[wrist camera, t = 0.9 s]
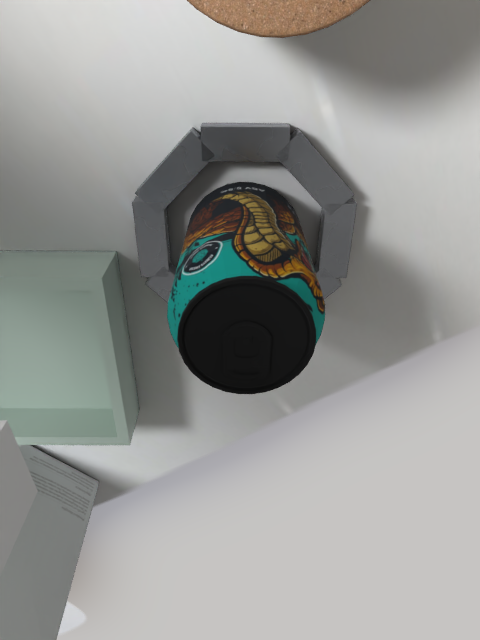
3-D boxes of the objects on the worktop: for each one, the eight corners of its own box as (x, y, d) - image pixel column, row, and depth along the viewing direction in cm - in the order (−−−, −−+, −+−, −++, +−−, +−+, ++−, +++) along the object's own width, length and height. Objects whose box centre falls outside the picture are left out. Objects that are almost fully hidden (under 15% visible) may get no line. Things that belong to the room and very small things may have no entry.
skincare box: (-15, 473, 41) (-137, 683, 28) (24, 434, 38) (-90, 645, 25) (66, 514, 44) (-9, 721, 31) (106, 481, 41) (44, 690, 28)
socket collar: (150, 321, 32) (147, 331, 31) (127, 122, 26) (123, 125, 25) (335, 322, 33) (338, 332, 32) (362, 124, 26) (367, 127, 25)
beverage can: (304, 179, 27) (343, 265, 17) (294, 284, 31) (322, 406, 21) (185, 177, 27) (154, 262, 17) (190, 282, 31) (166, 404, 21)
